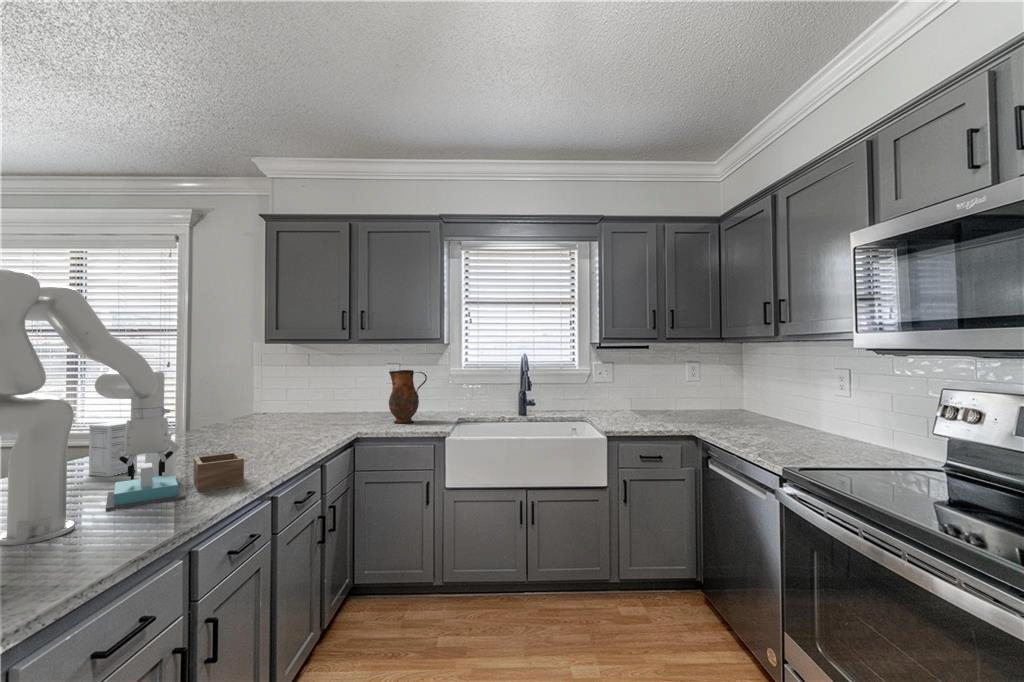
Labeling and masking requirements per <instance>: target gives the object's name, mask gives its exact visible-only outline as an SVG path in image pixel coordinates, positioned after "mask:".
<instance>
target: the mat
mask: <svg viewBox="0 0 1024 682" xmlns="http://www.w3.org/2000/svg"><path fill="white" fill-rule="evenodd" d="M177 484H178V490H177V496H171V497H165V498H159V499H152V500H146V501H139V502H133V503H127V504H120V505H114V491H108V492H107V499H106V504H105V512H110V511H116V509H118V510H122V508H124V509H129V507H130V508H135V506H136V507H142V506H141V505H143V506H148V504H149V505H155V504H160V503H165V502H172V501H177V500H179V501H180V500H184V499H186V494H185V492H184V490H183V487H182V484H181V482H177ZM154 503H155V504H154Z"/></svg>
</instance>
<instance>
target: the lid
mask: <svg viewBox="0 0 1024 682" xmlns="http://www.w3.org/2000/svg"><path fill="white" fill-rule="evenodd" d="M177 483H178V482H177V479H176V474H175V475H167V476H159V477H153V467H152V463H145V462H144V463H140V478H138V479H133V480H131V479H130V480H124V481H115V483H114V491H113V492H114V505H120V504H127V503H133V502H139V501H146V500H152V499H159V498H165V497H171V496H177V490H178V484H177Z"/></svg>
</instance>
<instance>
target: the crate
mask: <svg viewBox="0 0 1024 682" xmlns="http://www.w3.org/2000/svg"><path fill="white" fill-rule="evenodd" d="M244 475H245V458H244V457H243V456H242V455H241V454H240V453H239V452H238V451H237V452H235V451H234V452H226V453H218V454H217V453H216V454H209V455H202V456H201V455H200V456H194V457H193V481H192V482H193V485H194V486H195V489H196V491H197V492H205V491H210V490H216V489H217V490H218V489H224V488H230V487H237V486H243V485H244V483H245V481H244V480H245V479H244Z"/></svg>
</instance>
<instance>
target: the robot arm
mask: <svg viewBox="0 0 1024 682" xmlns="http://www.w3.org/2000/svg"><path fill="white" fill-rule="evenodd" d="M26 321H33V322H35V321H38V322H39V321H42V322H43V321H44V322H45V321H46V322H48V323H49V325H50V326H51V327H52V328H53V330H54V331H55V332H56V333H57V335H58V336H59V337H60V338H61V339H62V341H63V342H64V343H65V345H66V346H67V347H68V349H69V350H70V351H71V352H72V353H73V354H76V355H77V356H80V357H83V358H85V359H88V360H91V361H93V362H96V363H99V364H102V365H104V366H106V367H109V368H110V369H112V370H111V371H106V372H104V373H102V374H101V375H99V376H98V377H97V379H96V380H95V382H94V389H95V391H96V392H97V394H98V395H100V396H102V397H103V398H107V399H118V400H127V399H128V400H130V418H128V419H127V420H126V421H127V423H126V428H125V438H124V443H123V444H122V445H121V446H120V447H118V448H117V449H116V450H115V451H114V452H113V453H112V456H114V457H115V458H117V459H119V460H120V461H122V462H123V463H125V464H126V465H127V466H128V472H127V477H128V478H129V477H130V480H135V471H134V464H133V461H134V458H135V456H136V455H137V456H140V455H145V454H151V453H158V454H159V456H160V461H159V476H162V472H165V461H166V460H167V459H168V458H169V457H170V456H171V455H172V454H173V453H175V452H176V453H177V451H179V449H180V446H179V445H178V444H177V443H176V442H175V441H174V440H172V438H171V439H169V432H170V430H169V428H170V427H169V422H168V418H167V416H165V415H166V414H169V413H171V408H170V407H169V408H168V407H165V373H164V372H163V371H162V370H156V369H155V370H153V369H152V367H151V365H150V364H149V363H148V361H147V360H146V358H144V356H143V355H141V353H139V352H138V351H136V350H135V349H133V348H132V347H131V346H129V345H128V344H127V343H125V342H123V341H122V340H120V339H119V338H117V337H115V336H113V335H112V334H111V333H110V331H109V330H108V329H107V327H106V326H105V325H104V323H103V321H101V319H100V317H99V316H98V315H97V313H96V312H95V311H94V309H93V307H92V306H91V305H90V303H89V302H88V301H87V299H86V298H85V296H84V295H83V293H82V292H80V291H79V290H78V289H76V288H74V287H72V286H67V285H56V284H55V285H53V284H51V285H50V284H49V285H48V284H47V285H42V284H40V281H39V280H38V278H37V277H36V276H35V275H34V274H32V273H30V272H27V271H24V270H20V269H14V268H13V269H12V268H10V269H9V268H6V269H5V268H2V269H0V437H11V438H12V437H13V438H14V437H16V440H15V441H14V442H15V443H14V444H13V446H12V448H11V450H10V451H9V456H8V460H7V461H8V462H7V500H6V501H7V502H6V503H7V505H6V507H7V511H6V512H7V514H6V530H5V531H2V532H1V533H0V545H1V546H21V545H26V544H28V545H29V544H33V543H38V542H43V541H47V540H51V539H54V538H58V537H60V536H63V535H66V534H68V533H69V532H71V531H73V530H74V529H75V528H76V527H75V526H76V523H75V521H73V520H71V519H67V487H68V486H67V482H68V480H67V479H68V449H69V448H68V446H69V438H70V433H71V430H72V426H73V423H74V419H75V418H74V417H75V413H74V409H73V406H72V405H71V404H70V402H68V401H67V400H65V399H63V398H61V397H58V396H56V395H49V394H32V393H36V392H37V391H39V390H40V389H41V388H43V387H44V385H45V384H46V380H47V375H46V374H47V373H46V370H45V368H44V366H43V363H42V362H41V360H40V359H41V358H39V355H38V354H37V352H36V350H35V348H34V345H33V344H32V342H31V340H30V338H29V335H28V333H27V330H26ZM173 441H174V442H175V443H174V442H173ZM169 445H170V446H171V447H172V449H171V450H170V451H168V452H167V453H166V454H164V452H165V451H167V450H168V448H169ZM123 450H124V452H125V454H126V455H129V458H126V457H125V456H123V455H122V454H120V453H121V452H122V451H123Z"/></svg>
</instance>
